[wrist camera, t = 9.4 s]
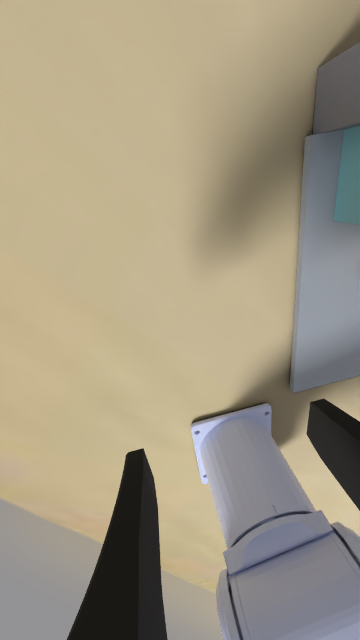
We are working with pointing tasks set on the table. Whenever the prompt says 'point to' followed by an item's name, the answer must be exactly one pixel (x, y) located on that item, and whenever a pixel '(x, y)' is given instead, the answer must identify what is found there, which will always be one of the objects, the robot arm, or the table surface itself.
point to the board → (325, 275)
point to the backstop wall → (338, 93)
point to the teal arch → (349, 179)
